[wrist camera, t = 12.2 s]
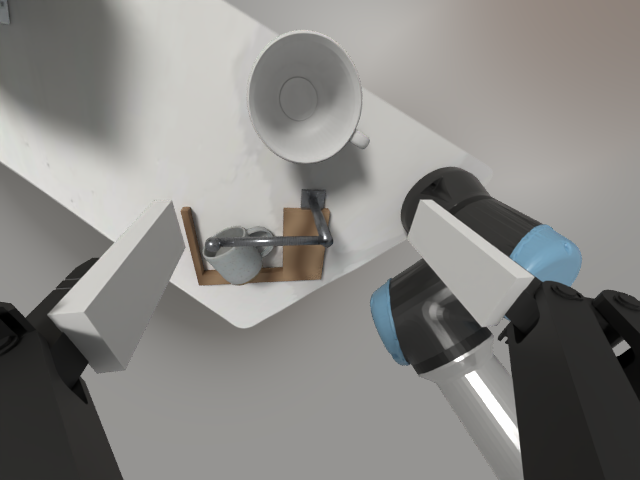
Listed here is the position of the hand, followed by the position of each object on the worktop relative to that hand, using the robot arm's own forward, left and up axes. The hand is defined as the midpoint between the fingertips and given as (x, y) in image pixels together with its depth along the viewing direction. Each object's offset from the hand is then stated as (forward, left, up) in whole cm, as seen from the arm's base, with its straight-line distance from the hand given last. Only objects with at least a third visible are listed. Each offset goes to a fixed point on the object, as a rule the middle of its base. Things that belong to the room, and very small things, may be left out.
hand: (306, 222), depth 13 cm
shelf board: (+4, +20, -27) cm, 34 cm away
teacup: (-3, -4, -27) cm, 27 cm away
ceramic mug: (+7, +19, -27) cm, 34 cm away
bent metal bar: (+1, +11, -27) cm, 29 cm away
